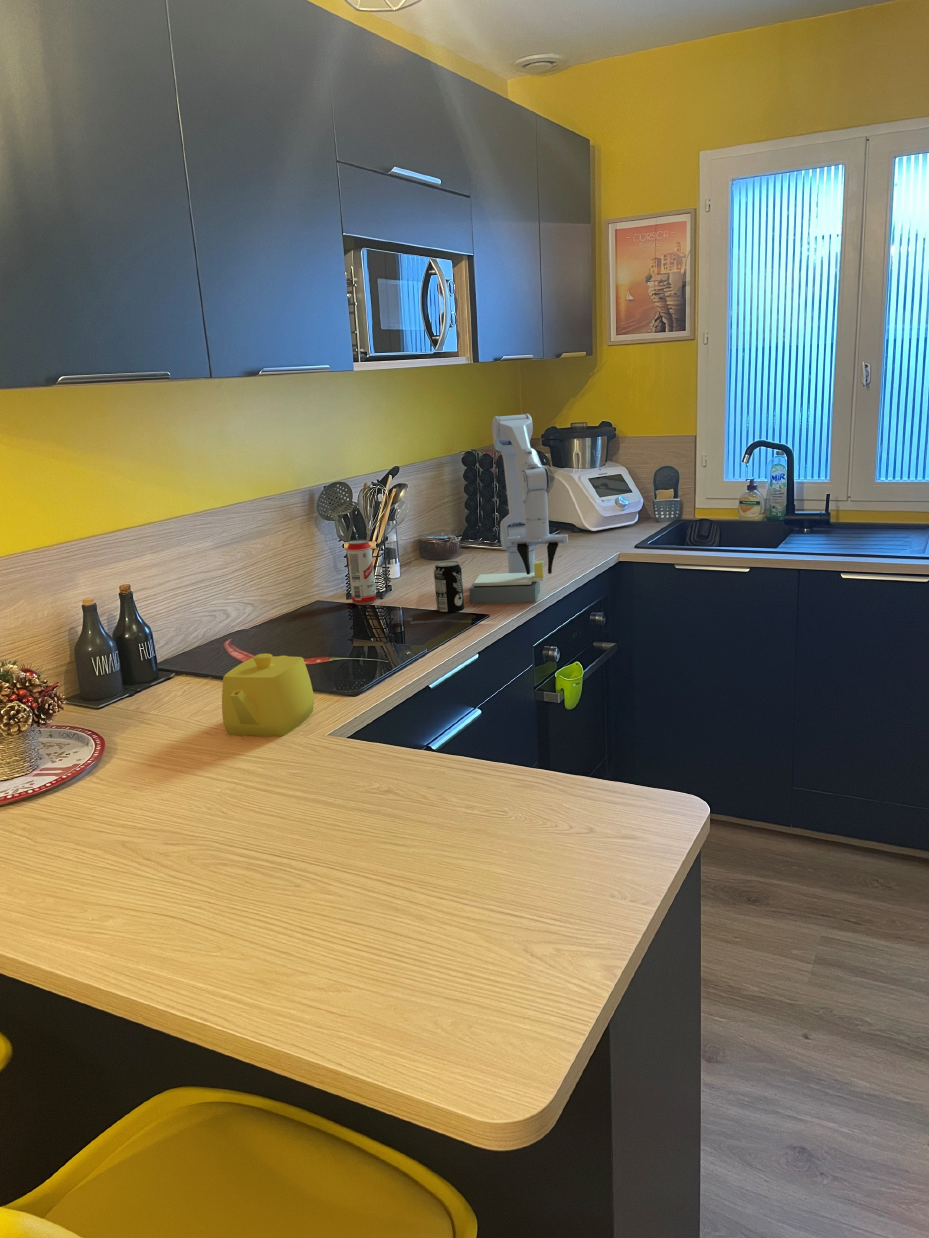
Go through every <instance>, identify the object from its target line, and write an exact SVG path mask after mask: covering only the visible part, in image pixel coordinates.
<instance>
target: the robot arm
mask: <svg viewBox="0 0 929 1238" xmlns="http://www.w3.org/2000/svg"><path fill="white" fill-rule="evenodd" d="M533 429H534V427H533V419H532V416H531V415H530V414H529V413H525V414H513V415H504V416H498V415H496V416H494V417H493V418H492V422H491V431H492V440H493V446H494V450H496V451H498V452H500V453H501V456H502V460H503V469H504V476H505V478H504V479H505V487H506V497H507V505H508V514H507V515H506V516H505V517H504V518H503V519H501V521H500V524H499V526H500V527H499V528H500V530H499V532H500V533H499V537H500V538H499V539H500V545H501V548H502V549H503V550H505V551H507V552H506V553H507V566H508V567H507V568H508V573H527V575H528V574H530V573H534V563H535V561H536V559H535V557H536V556H535V551H536V550H537V547H539V545H547V546H546V550H547V574H549V575H551V574H552V572H553V571H552V570H553V563H554V559H555V555H556V552H557V550H558V547H559V545H560V544H564V545H565V544H566V545H567V544H568V543H569V539H568V536H569V534H551V533H550V528H549V527H550V526H549V507H548V506H549V505H548V504H549V503H548V492H549V490H550V487H551V479H550V473H549V470H548V467H547V466H545V465H542V462H541V459H540V457H539V454H538V452H537V451H536V449H534V448H532V446H531V444H530V442H531V439H532V436H533Z"/></svg>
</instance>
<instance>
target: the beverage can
mask: <svg viewBox="0 0 929 1238" xmlns="http://www.w3.org/2000/svg"><path fill="white" fill-rule="evenodd" d="M433 578H434V579H433V580H434V590H435V591H434V592H435V603H436V611H437V612H438V613H442V614H451V613H453V614H454V613H459V612H462V611H463V610H464V609H465V600H464V588H463V587H464V585H463V572H462V567H461V565H460V561H458V560H443V561H437V562H436V563H435V564H434V568H433Z"/></svg>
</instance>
